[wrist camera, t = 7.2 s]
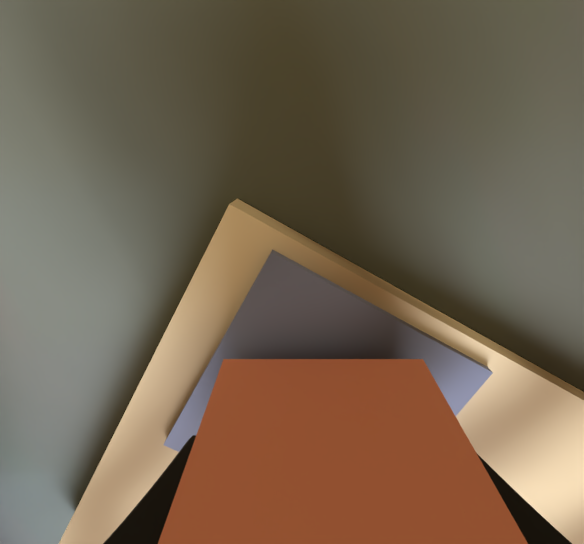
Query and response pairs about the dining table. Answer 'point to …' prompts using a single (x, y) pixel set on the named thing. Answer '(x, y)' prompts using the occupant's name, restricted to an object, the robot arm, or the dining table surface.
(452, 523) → the strapped orange box
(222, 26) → the dining table surface
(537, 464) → the board
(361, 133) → the dining table surface
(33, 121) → the dining table surface
